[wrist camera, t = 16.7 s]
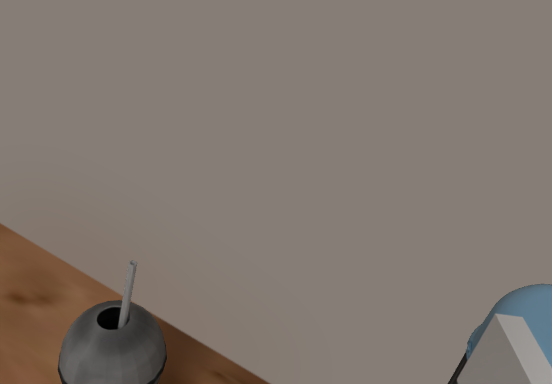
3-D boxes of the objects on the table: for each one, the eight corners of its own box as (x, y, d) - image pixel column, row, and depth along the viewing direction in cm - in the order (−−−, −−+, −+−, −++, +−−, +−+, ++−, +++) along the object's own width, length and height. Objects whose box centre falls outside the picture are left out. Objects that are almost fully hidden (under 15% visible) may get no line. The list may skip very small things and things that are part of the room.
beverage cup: (64, 420, 41) (43, 237, 30) (150, 397, 44) (158, 223, 34) (72, 508, 36) (51, 322, 25) (169, 474, 39) (187, 296, 28)
